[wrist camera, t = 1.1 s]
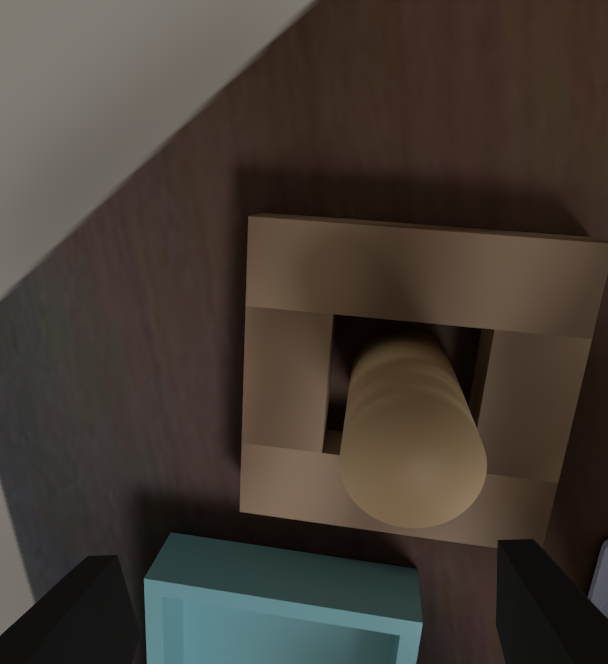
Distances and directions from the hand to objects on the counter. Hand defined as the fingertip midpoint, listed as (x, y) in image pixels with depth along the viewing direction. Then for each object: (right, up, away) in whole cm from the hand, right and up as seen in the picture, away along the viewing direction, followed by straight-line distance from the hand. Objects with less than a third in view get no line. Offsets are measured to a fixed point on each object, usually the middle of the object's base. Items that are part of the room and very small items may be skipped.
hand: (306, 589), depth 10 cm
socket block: (+4, +3, +11) cm, 12 cm away
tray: (-1, -11, +16) cm, 19 cm away
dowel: (+4, +3, +11) cm, 12 cm away
